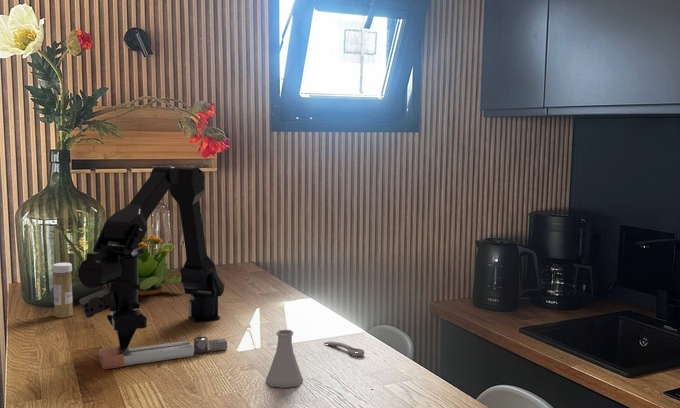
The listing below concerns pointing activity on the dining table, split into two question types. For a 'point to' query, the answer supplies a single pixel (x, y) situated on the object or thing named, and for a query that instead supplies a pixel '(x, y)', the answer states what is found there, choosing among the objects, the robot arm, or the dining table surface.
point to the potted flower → (153, 267)
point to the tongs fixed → (154, 354)
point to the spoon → (349, 348)
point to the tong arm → (199, 347)
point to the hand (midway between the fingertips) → (123, 350)
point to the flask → (284, 363)
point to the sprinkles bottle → (62, 289)
